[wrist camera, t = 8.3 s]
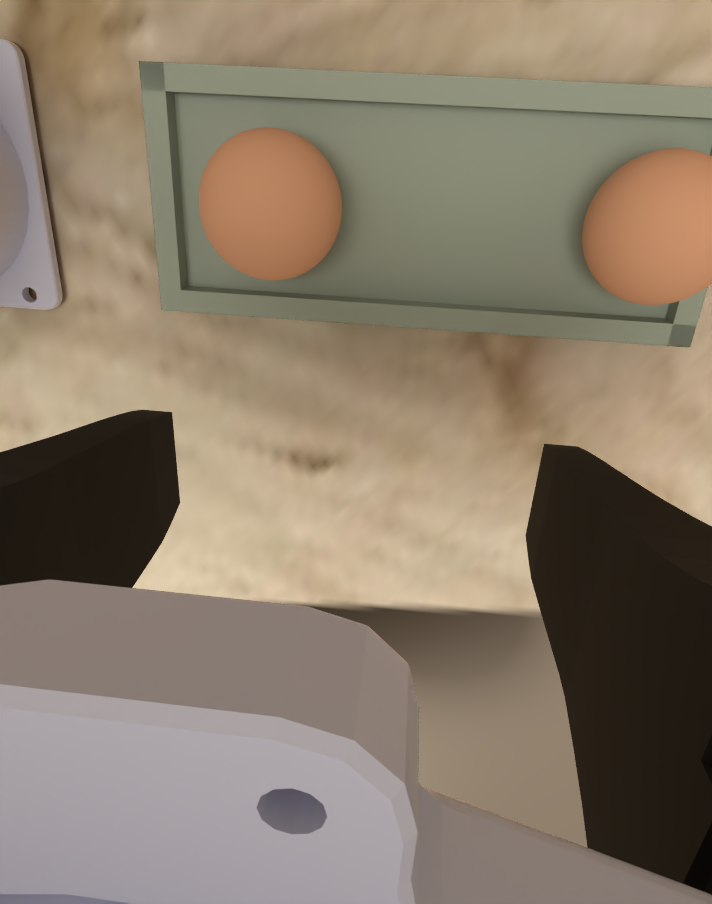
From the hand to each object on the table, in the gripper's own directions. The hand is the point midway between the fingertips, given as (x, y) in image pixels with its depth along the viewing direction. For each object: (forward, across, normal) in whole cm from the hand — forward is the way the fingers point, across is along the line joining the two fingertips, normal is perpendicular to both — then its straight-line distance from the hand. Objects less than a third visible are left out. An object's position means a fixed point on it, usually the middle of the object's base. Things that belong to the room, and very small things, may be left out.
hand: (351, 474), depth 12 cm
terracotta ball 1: (+8, +3, -4) cm, 9 cm away
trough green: (+10, -1, -4) cm, 11 cm away
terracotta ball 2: (+8, -7, -4) cm, 12 cm away
